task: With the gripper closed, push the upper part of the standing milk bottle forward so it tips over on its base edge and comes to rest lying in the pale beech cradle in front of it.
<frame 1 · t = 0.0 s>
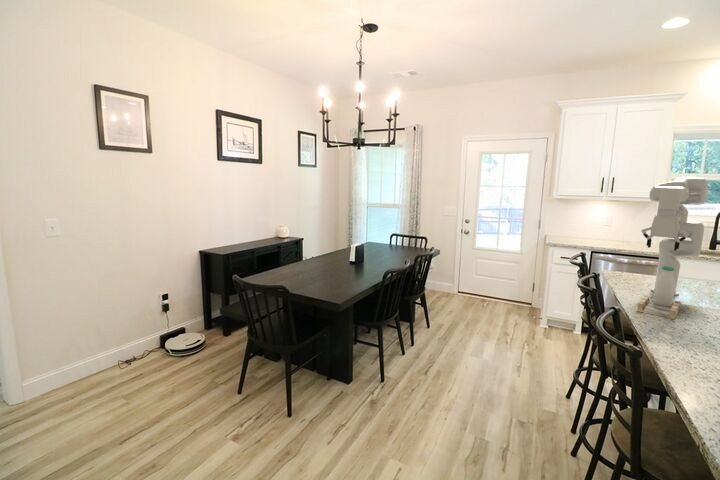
hand: (661, 248, 167), 31 cm above the countertop, tool pointing down, fingers open, 9 cm apart
cradle: (658, 310, 173), on the countertop
milk bottle: (662, 304, 182), on the countertop
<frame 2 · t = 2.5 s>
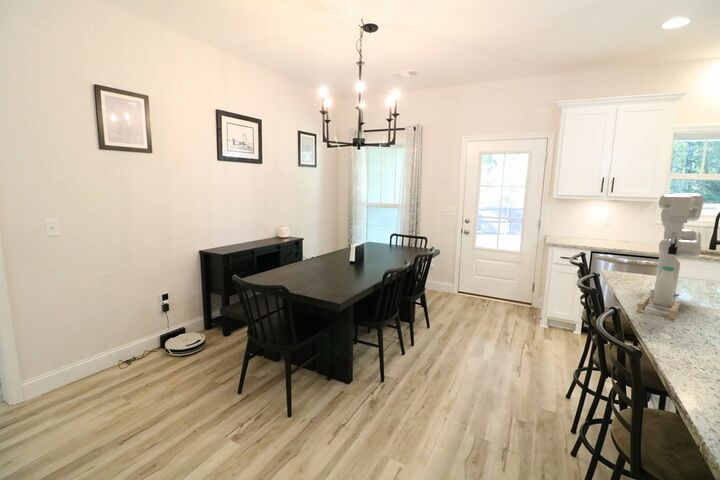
hand: (672, 254, 183), 26 cm above the countertop, tool pointing down, fingers closed
nothing on the countertop moved.
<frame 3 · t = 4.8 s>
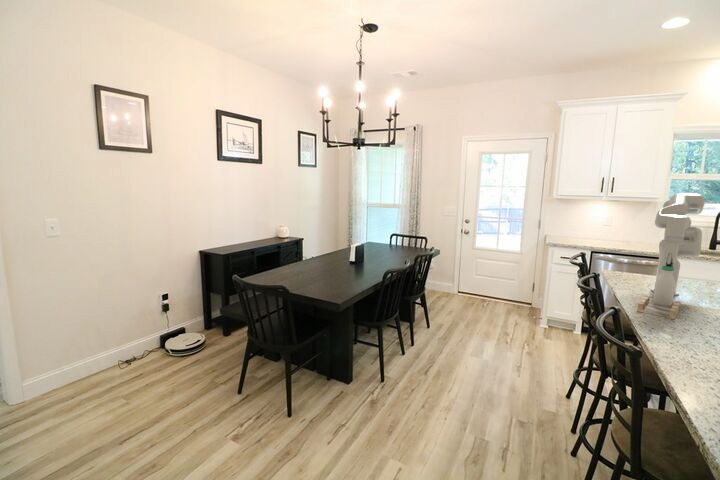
hand: (667, 274, 182), 15 cm above the countertop, tool pointing down, fingers closed
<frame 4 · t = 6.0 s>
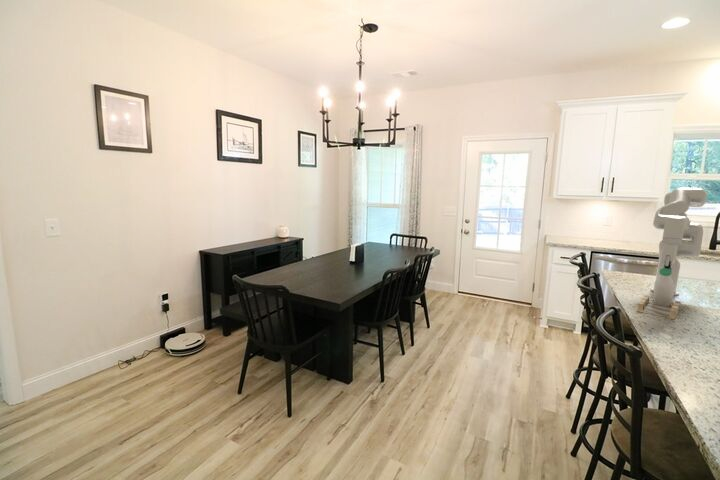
hand: (666, 276, 178), 15 cm above the countertop, tool pointing down, fingers closed
milk bottle: (662, 301, 182), point 2 cm above the countertop, touching cradle
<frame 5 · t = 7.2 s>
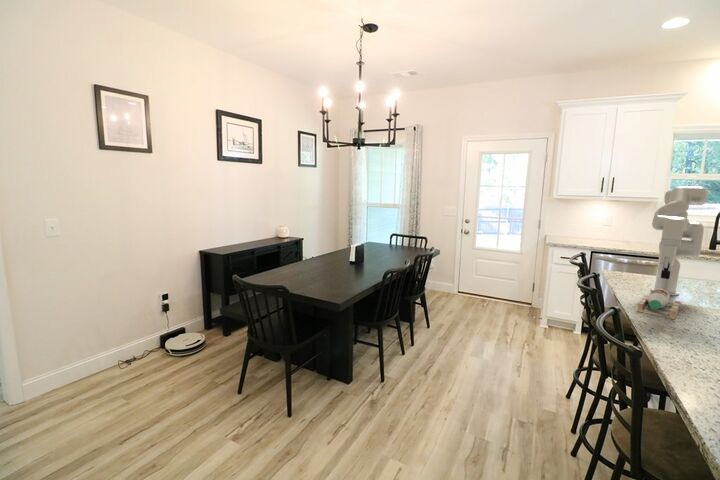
hand: (664, 278, 175), 15 cm above the countertop, tool pointing down, fingers closed
milk bottle: (660, 295, 180), point 5 cm above the countertop, touching cradle
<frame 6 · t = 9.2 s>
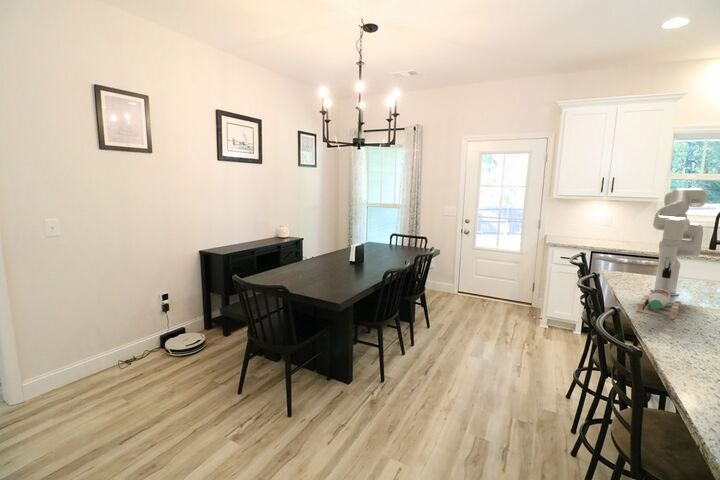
hand: (666, 277, 178), 15 cm above the countertop, tool pointing down, fingers closed
nothing on the countertop moved.
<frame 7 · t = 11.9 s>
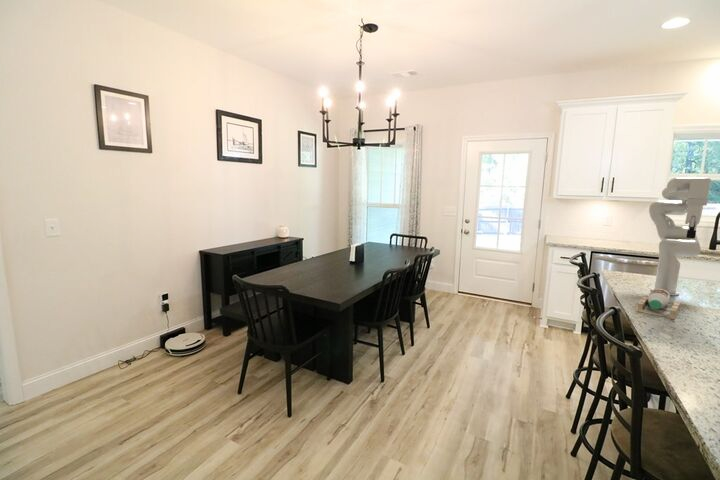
hand: (690, 237, 178), 35 cm above the countertop, tool pointing down, fingers closed
nothing on the countertop moved.
at the end: milk bottle tilted 91°; milk bottle inside the target area (9.0 cm from its centre), point 4.8 cm above the countertop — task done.
